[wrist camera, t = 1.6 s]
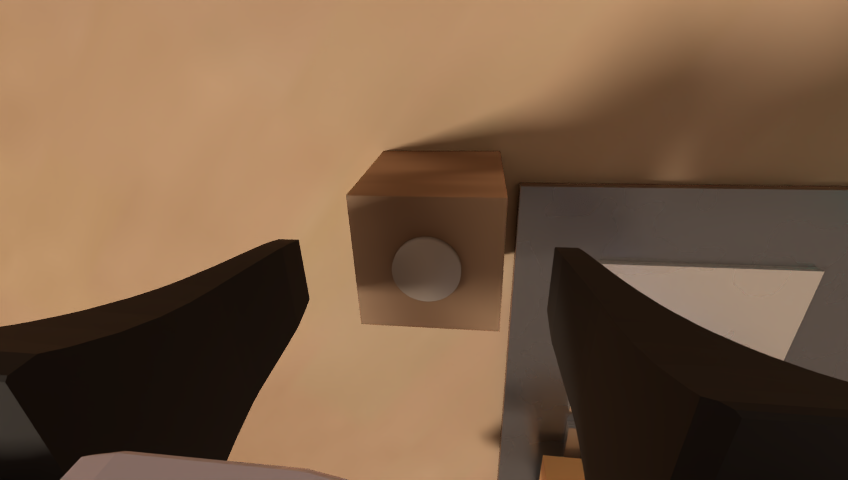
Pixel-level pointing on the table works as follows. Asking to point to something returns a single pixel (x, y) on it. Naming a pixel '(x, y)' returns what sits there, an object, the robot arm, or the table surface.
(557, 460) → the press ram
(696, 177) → the table surface
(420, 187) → the block
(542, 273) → the frame
